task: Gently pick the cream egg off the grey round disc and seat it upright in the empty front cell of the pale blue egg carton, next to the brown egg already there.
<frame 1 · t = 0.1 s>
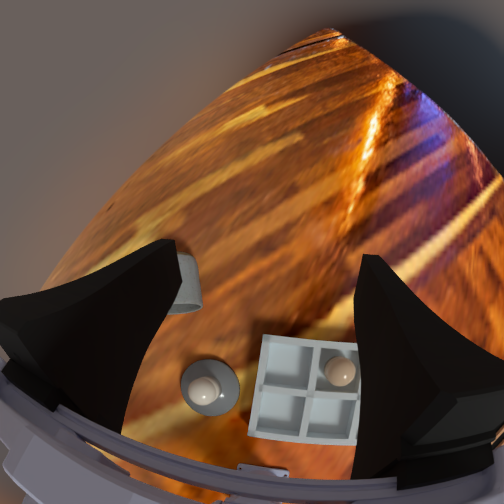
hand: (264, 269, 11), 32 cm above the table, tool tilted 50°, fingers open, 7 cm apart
egg carton: (332, 391, 37), on the table
grey round disc: (210, 387, 39), on the table
brown egg 1: (337, 369, 37), point 1 cm above the table, touching egg carton
cream egg: (208, 388, 38), point 1 cm above the table, touching grey round disc
ceramic mug: (177, 292, 45), on the table
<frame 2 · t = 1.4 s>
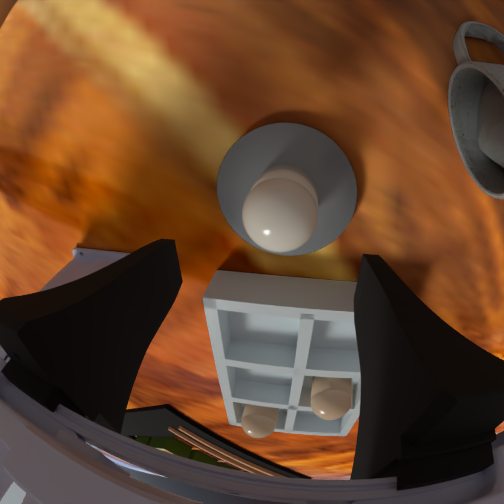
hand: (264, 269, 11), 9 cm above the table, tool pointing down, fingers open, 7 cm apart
egg carton: (299, 363, 27), on the table
grey round disc: (287, 189, 18), on the table
brown egg 1: (332, 373, 26), point 1 cm above the table, touching egg carton
cream egg: (285, 194, 18), point 1 cm above the table, touching grey round disc
ceramic mug: (484, 98, 12), on the table
brown egg 2: (263, 399, 31), point 1 cm above the table, touching egg carton
sushi set: (189, 451, 58), on the table
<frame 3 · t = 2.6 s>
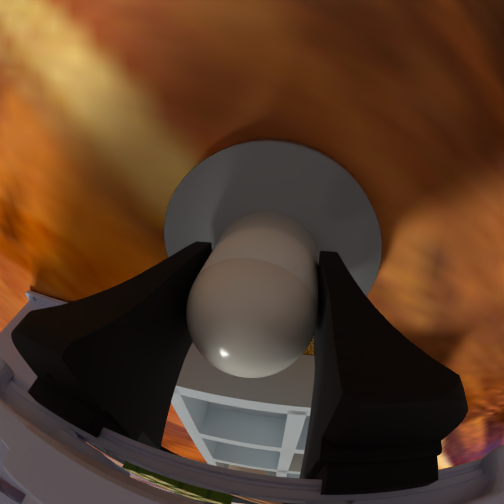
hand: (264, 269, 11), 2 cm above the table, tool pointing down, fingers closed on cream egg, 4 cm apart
egg carton: (290, 427, 21), on the table
grey round disc: (271, 245, 12), on the table
cream egg: (268, 257, 11), point 1 cm above the table, touching gripper, grey round disc
brown egg 2: (251, 454, 24), point 1 cm above the table, touching egg carton
sushi set: (180, 475, 52), on the table
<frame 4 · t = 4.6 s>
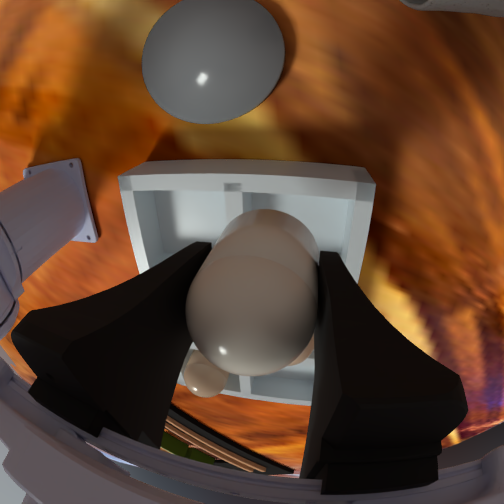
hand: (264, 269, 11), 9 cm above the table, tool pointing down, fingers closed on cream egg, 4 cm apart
egg carton: (250, 294, 23), on the table
grey round disc: (212, 56, 14), on the table
cream egg: (267, 256, 11), point 8 cm above the table, touching gripper
brown egg 2: (215, 351, 27), point 1 cm above the table, touching egg carton
sushi set: (160, 435, 54), on the table
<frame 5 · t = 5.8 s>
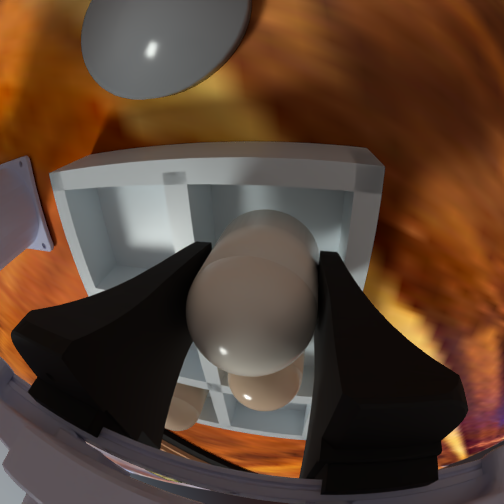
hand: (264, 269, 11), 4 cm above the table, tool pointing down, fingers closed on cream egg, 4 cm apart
egg carton: (223, 316, 18), on the table
grey round disc: (160, 17, 9), on the table
brown egg 1: (273, 333, 17), point 1 cm above the table, touching egg carton
cream egg: (267, 256, 11), point 3 cm above the table, touching gripper
brown egg 2: (188, 376, 22), point 1 cm above the table, touching egg carton
sushi set: (150, 448, 49), on the table
when the fingers open (4 cm above the table, at t = 6.5 s): cream egg drops 2 cm, resting on egg carton.
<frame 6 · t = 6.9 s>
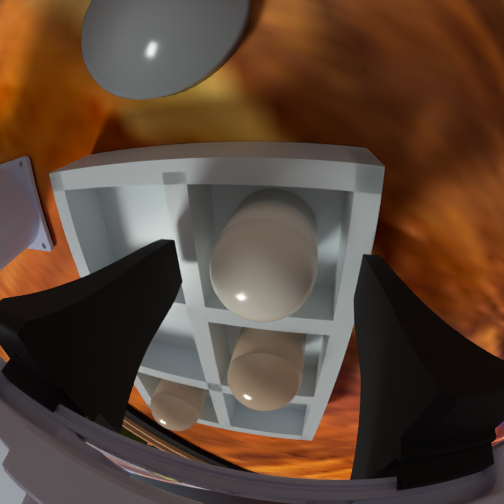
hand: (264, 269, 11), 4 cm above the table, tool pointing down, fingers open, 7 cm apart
egg carton: (223, 316, 18), on the table
grey round disc: (160, 17, 9), on the table
brown egg 1: (273, 333, 17), point 1 cm above the table, touching egg carton
cream egg: (274, 229, 13), point 1 cm above the table, touching egg carton
brown egg 2: (188, 376, 22), point 1 cm above the table, touching egg carton
sushi set: (150, 448, 49), on the table
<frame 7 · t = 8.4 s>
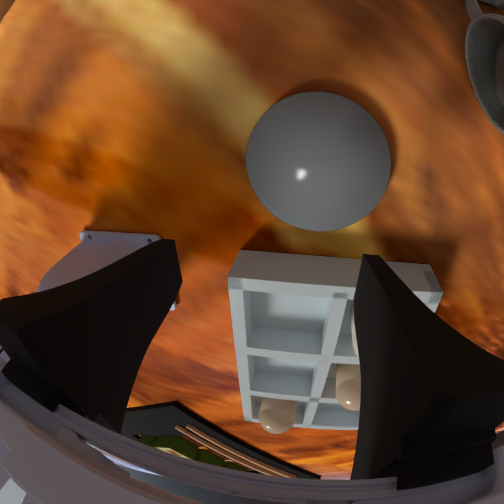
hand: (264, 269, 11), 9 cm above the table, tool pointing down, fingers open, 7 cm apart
egg carton: (321, 352, 26), on the table
grey round disc: (319, 161, 17), on the table
brown egg 1: (356, 362, 25), point 1 cm above the table, touching egg carton
ceramic mug: (497, 58, 10), on the table
brown egg 2: (281, 393, 29), point 1 cm above the table, touching egg carton
sushi set: (195, 451, 56), on the table
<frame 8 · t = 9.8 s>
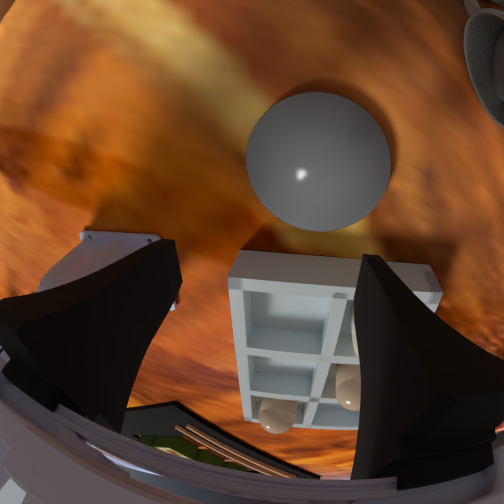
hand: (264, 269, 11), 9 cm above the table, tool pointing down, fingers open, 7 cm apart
egg carton: (321, 352, 26), on the table
grey round disc: (319, 161, 17), on the table
brown egg 1: (356, 362, 25), point 1 cm above the table, touching egg carton
ceramic mug: (496, 54, 10), on the table
brown egg 2: (281, 393, 29), point 1 cm above the table, touching egg carton
sushi set: (195, 451, 56), on the table
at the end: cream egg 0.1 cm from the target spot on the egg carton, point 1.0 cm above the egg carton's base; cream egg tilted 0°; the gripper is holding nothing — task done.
